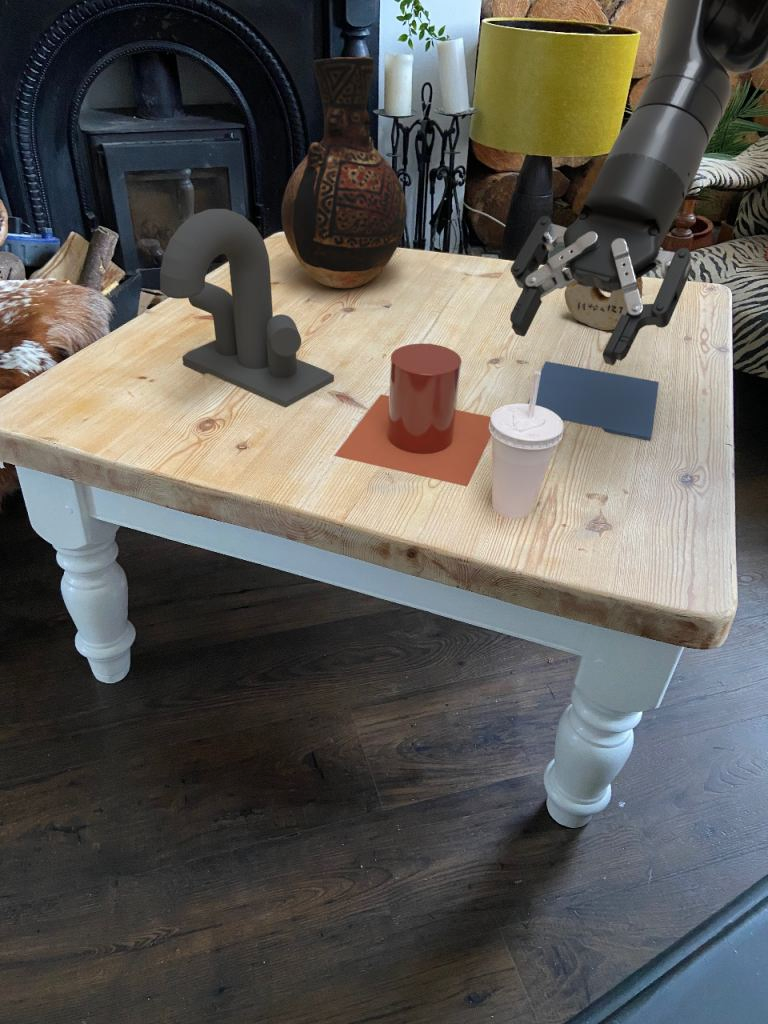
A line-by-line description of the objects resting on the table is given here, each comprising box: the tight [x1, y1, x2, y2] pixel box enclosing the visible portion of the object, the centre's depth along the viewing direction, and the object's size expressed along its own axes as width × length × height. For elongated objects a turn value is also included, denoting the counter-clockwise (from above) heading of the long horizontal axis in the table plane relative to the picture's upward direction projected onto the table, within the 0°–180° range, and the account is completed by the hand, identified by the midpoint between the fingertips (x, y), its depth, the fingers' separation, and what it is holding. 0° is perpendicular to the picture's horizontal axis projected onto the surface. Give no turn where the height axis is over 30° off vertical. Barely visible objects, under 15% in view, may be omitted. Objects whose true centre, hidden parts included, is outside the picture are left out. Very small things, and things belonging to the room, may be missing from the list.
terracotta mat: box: [333, 393, 492, 487], centre depth 79 cm, size 14×14×1 cm
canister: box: [388, 343, 462, 454], centre depth 76 cm, size 7×7×9 cm
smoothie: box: [489, 370, 565, 520], centre depth 66 cm, size 6×6×14 cm
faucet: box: [159, 208, 335, 409], centre depth 81 cm, size 18×16×20 cm
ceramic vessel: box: [280, 56, 408, 289], centre depth 107 cm, size 21×18×30 cm
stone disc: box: [564, 276, 644, 331], centre depth 102 cm, size 10×4×10 cm, turn 54°
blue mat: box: [526, 360, 660, 441], centre depth 88 cm, size 14×14×1 cm
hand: (561, 346), depth 64 cm, fingers open, 8 cm apart
